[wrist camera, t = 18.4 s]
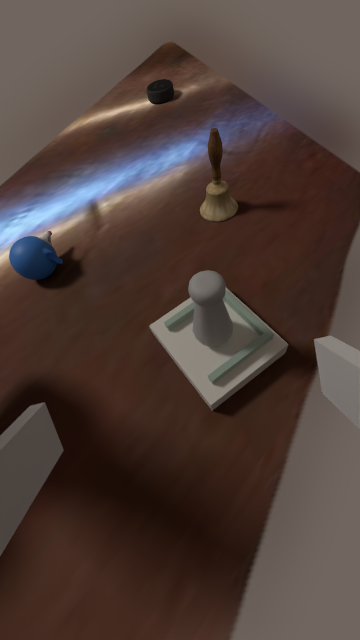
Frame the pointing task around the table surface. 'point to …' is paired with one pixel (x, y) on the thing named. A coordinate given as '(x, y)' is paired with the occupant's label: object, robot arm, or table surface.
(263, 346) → the dock
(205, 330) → the salt shaker
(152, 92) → the smart speaker
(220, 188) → the hand bell
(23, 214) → the table surface
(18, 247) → the blue rounded piece
